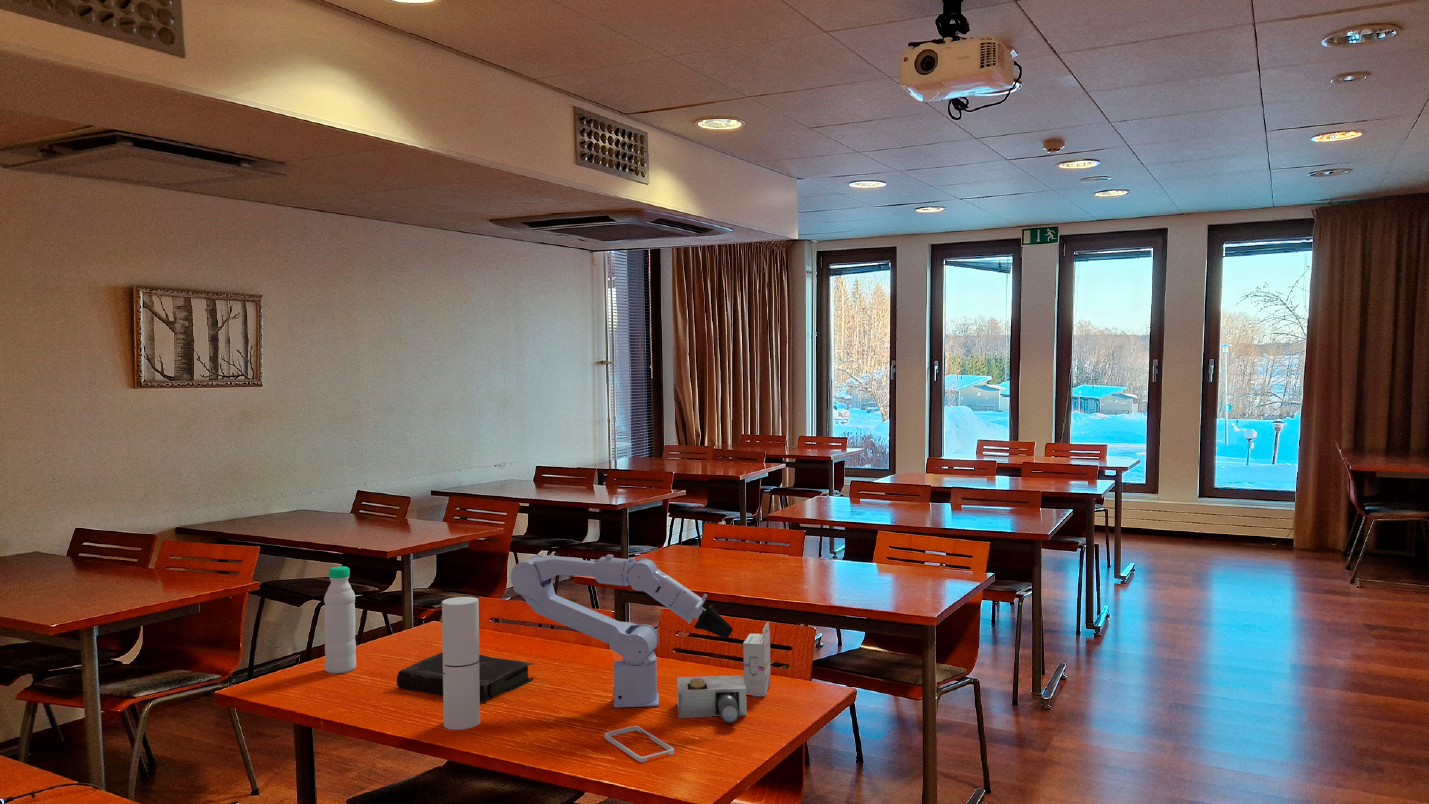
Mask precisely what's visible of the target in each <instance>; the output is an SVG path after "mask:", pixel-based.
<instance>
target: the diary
mask: <svg viewBox="0 0 1429 804" xmlns="http://www.w3.org/2000/svg"><path fill="white" fill-rule="evenodd" d="M532 665H534V662H528V661H519V660H515V659H514V660H513V659H506V658H499V657H492V656H487V655H483V654H480V653H479V682H480V703H483V704H487V703H488V700H489V701H491V699H493V698H495V697H497V696H500V695H501V694H503V693H505V692H506V693H510V692H512V691H515V690H516V689H519V688H520V687H523V686H525V685H527V684H529V683H531V682H532V681H533V679H535V677H534V676H533V677H529V666H532ZM396 686H397V688H398V689H400V690H406V691H413V692H417V693H418V692H419V693H426V694H432V695H436V696H442V697H443V651H442V652H439V653H436V654H435V655H432V656H430V657H426V658H423V659H422V660H420V661H418V662H416V663H414V664H411V665H410V666H408V667H405V668H403V669H401V670H399V671H397V676H396Z"/></svg>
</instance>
